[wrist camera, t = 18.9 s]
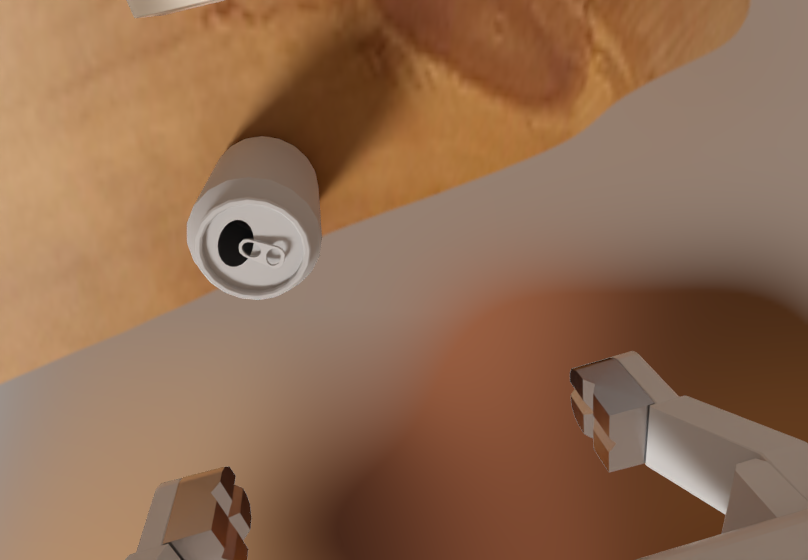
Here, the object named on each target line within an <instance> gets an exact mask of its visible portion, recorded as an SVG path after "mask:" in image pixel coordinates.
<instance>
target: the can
mask: <svg viewBox="0 0 808 560" xmlns="http://www.w3.org/2000/svg"><path fill="white" fill-rule="evenodd" d="M321 240H322V233H321V218H320V203H319V187H318V182H317V178H316V173H315V170H314V169H313V167H312V165H311V163H310V162H309V160H308V158H307V157H306V156H305V155H304V154H303V153H302V152H300V151H299V150H298V149H297V148H296V147H295V146H293V145H291V144H289V143H287V142H285V141H283V140H281V139H277V138H271V137H265V136H260V137H253V138H247V139H244V140H242V141H240V142H238V143H236V144H234V145H232V146H231V147H230V148H229V149H228V150H227V151H226V152H225V153H224V154H223V155H222V156H221V157H220V159H219V161H218V162H217V164H216V166H215V168H214V170H213V172H212V173H211V175H210V177H209V179H208V181H207V183H206V184H205V186H204V188H203V190H202V192H201V194H200V195H199V197H198V199H197V201H196V203H195V205H194V207H193V209H192V212H191V214H190V217H189V219H188V222H187V244H188V247H189V249H190V252H191V255H192V257H193V260H194V262H195V263H196V264H197V266H198V267H199V269H200V270H201V272H202V273H203V274H204V275H205V277H206V278H207V279H208V280H209V281H210V283H212V284H213V285H215V286H216V287H218V288H219V289H220V290H222V291H224V292H225V293H228V294H231V295H233V296H237V297H239V298H243V299H256V300H261V299H266V298H272V297H277V296H278V295H280V294H282V293H284V292H287V291H289V290H291V289H292V288H293V287H294V286H296V285H298V284H299V283H300V282H301V281H302V280H303V279H304V278H306V277H307V276H308V275H309V274H310V272H311V271H312V269H313V268H314V265H315V264H316V262H317V260H318V258H319V256H320V248H321Z"/></svg>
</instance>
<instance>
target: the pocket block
mask: <svg viewBox="0 0 808 560" xmlns="http://www.w3.org/2000/svg"><path fill="white" fill-rule="evenodd" d="M220 1H224V0H127V2H128V5H129V7H130V9H131V11H132V14H133V16H134V18H142V17H152V16H161V15H166V14H170V13H175V12H179V11H183V10H187V9H191V8H195V7H199V6H203V5H207V4H212V3H216V2H220Z"/></svg>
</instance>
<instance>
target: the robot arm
mask: <svg viewBox="0 0 808 560" xmlns="http://www.w3.org/2000/svg"><path fill="white" fill-rule="evenodd" d="M570 382H571V384H572V385H573V387H574V388H575V390H574V391H573V393H572V394H571V404H572V409H573V413H574V416H575V418H576V421H577V423H578V425H579V427H580V428H581V430H582V431H583V433H584V434H585V435H587V436H589V437H591V438H593V439H594V450H595V452H596V453H597V455H598V456H599V458H600V460H601V461H602V462H603V464H604V466H605V467H606V469H607V470H608V472H613V471H616V470H620V469H624V468H628V467H632V466H635V465H640V464H643V463H646V466H648V467H650V468H651V469H653V470H654V471H656V472H658V473H659V474H661V475H663V476H664V477H666V478H667V479H669V480H671V481H672V482H674V483H675V484H677V485H679V486H680V487H682V488H683V489H685V490H687V491H688V492H690V493H692V494H693V495H695V496H696V497H698V498H700V499H701V500H703V501H705V502H706V503H708V504H709V505H711V506H712V507H714V508H716V509H717V510H719V511H721V512H722V513H724V514H725V520H724V525H723V530H722V534H720V535H717V536H713V537H710V538H707V539H703V540H700V541H697V542H693V543H691V544H687V545H684V546H680V547H677V548H673V549H670V550H667V551H664V552H660V553H657V554H654V555H650V556H647V557H643V558H640V559H637V560H808V443H806V442H804V441H802V440H799V439H796V438H794V437H792V436H789V435H786V434H783V433H781V432H779V431H776V430H773V429H771V428H768V427H766V426H763V425H760V424H758V423H755V422H753V421H750V420H748V419H744V418H742V417H740V416H737V415H735V414H732V413H729V412H727V411H724V410H722V409H719V408H717V407H714V406H711V405H708V404H706V403H704V402H701V401H698V400H696V399H693V398H691V397H688V396H682V397H679V396H678V395H677V394H676V393H675V392H674V391H673V390H672V389H671V388H670V387H669V386H668V385H667V384H666V383H665V382H664V381H663V380H662V379H661V377H660V376H659V375H658V374H657V373H656V372H655V371H654V370H653V369H652V368H651V367H650V366H649V365H648V364H647V363H646V362H645V361H644V360H643V359H642V357H641V356H640V355H639V354H638V353H636V352H634V351H631V352H627V353H624V354H620V355H617V356H614V357H612V358H607V359H603V360H600V361H596V362H593V363H589V364H586V365H583V366H579V367H576V368H572V369H571V371H570ZM234 483H235V474H234V473H233V471H232V470H231V468H230V467H222V468H218V469H214V470H210V471H206V472H202V473H198V474H194V475H191V476H186V477H183V478H180V479H176V480H173V481H168V482H164V483H161V484H160V485H159V487H158V488H157V489H156V491H155V494H154V497H153V501H152V504H151V507H150V510H149V513H148V517H147V520H146V523H145V526H144V529H143V532H142V535H141V539H140V542H139V545H138V548H137V552H136V553H133V554H130V555H129V556H128V557H127V558H126V559H125V560H247V556H248V548H247V546H246V545H245V543H244V542H243V540H244V538H245V537H246V536H247V534H248V533H249V531H250V528H251V510H250V503H249V500H248V497H247V495H246V493H245V491H244V489H243V488H241V487H239V486H236V485H234Z"/></svg>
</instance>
